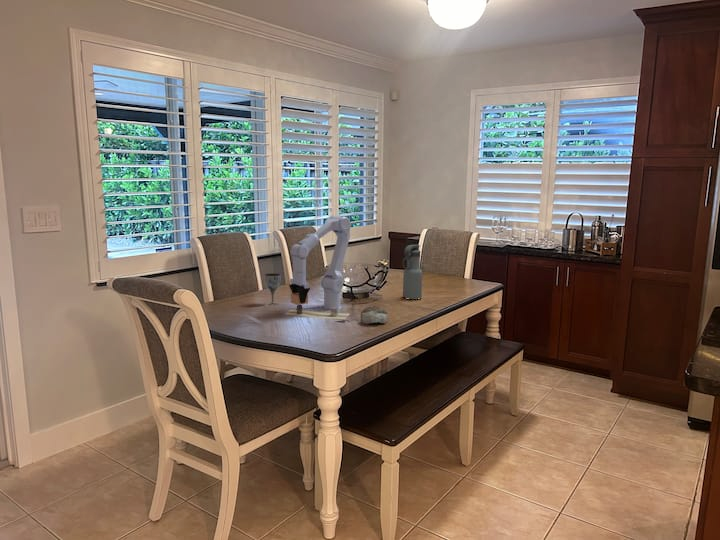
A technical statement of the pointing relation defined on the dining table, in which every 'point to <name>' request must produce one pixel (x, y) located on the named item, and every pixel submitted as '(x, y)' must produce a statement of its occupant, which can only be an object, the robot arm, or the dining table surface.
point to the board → (318, 314)
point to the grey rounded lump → (374, 315)
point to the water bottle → (412, 273)
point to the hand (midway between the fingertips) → (299, 301)
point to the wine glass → (272, 284)
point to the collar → (297, 299)
